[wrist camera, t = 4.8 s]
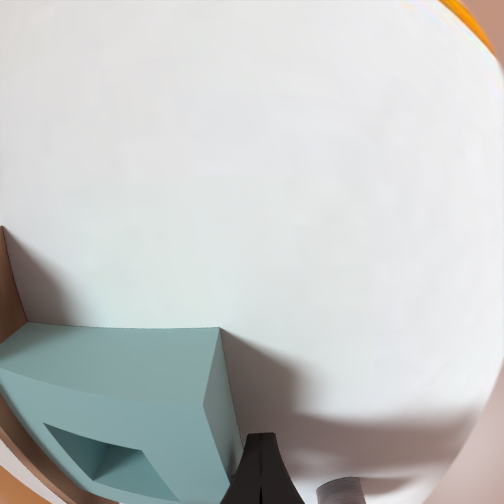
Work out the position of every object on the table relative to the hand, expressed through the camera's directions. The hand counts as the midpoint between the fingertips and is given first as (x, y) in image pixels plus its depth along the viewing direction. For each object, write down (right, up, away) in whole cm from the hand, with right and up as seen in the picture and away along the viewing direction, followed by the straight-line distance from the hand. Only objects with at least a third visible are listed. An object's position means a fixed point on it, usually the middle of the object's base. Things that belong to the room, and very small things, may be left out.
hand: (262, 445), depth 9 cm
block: (-6, 0, +2) cm, 6 cm away
